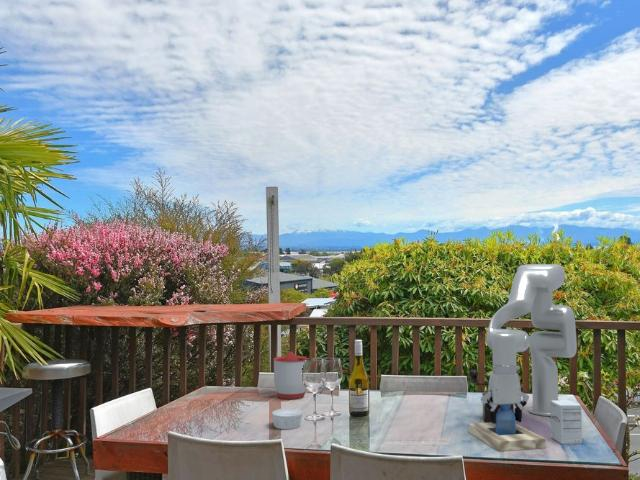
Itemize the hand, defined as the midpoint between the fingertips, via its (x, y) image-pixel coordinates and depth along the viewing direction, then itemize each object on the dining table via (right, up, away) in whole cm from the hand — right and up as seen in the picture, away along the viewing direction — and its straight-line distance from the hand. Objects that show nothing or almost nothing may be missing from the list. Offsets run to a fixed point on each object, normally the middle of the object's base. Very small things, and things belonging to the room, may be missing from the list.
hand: (505, 421), depth 205 cm
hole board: (0, -6, 0) cm, 6 cm away
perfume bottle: (0, -5, 0) cm, 5 cm away
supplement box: (+20, -6, -2) cm, 21 cm away
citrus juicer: (-74, -9, +67) cm, 100 cm away
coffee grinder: (+2, -7, +25) cm, 26 cm away
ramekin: (-74, -7, +18) cm, 76 cm away
